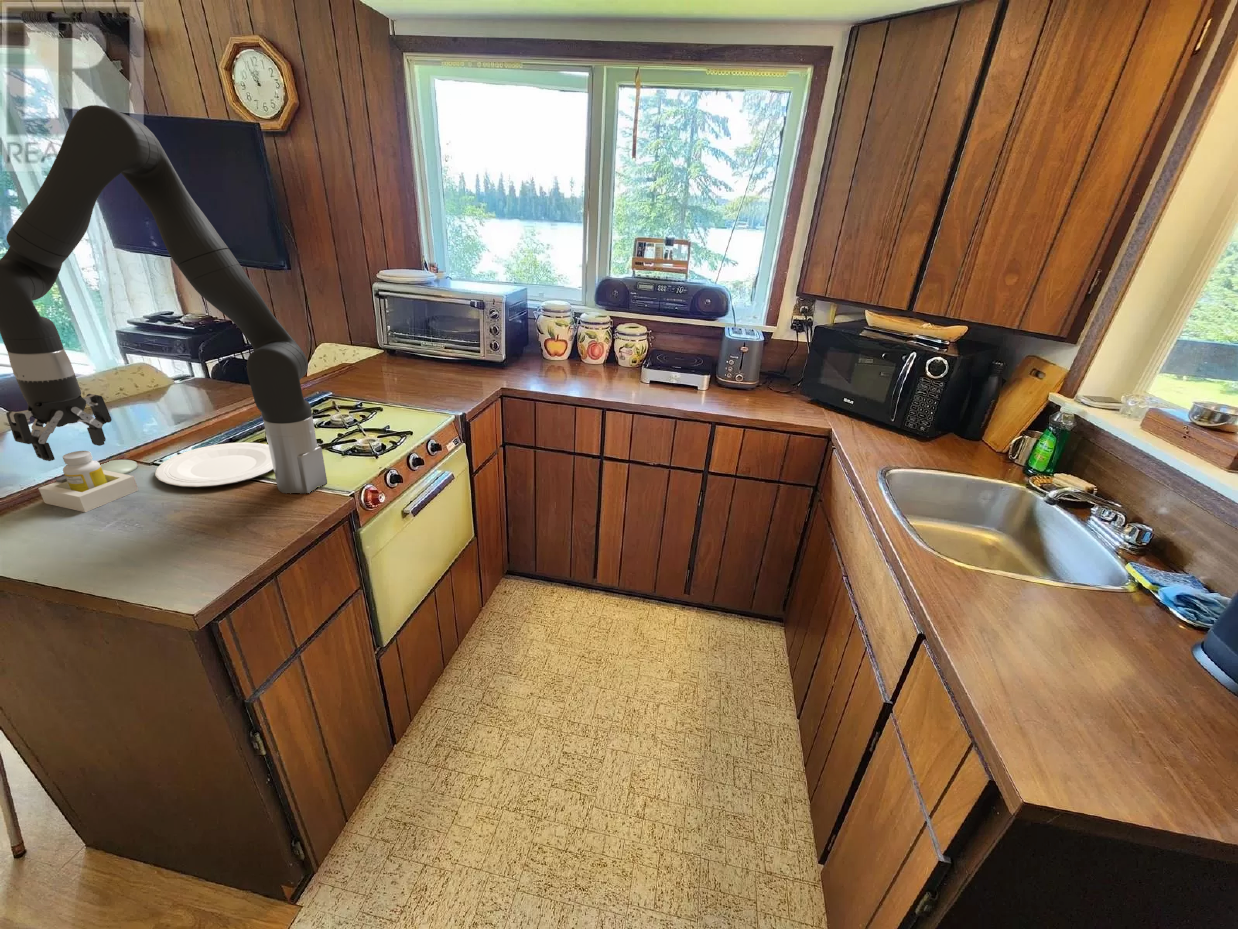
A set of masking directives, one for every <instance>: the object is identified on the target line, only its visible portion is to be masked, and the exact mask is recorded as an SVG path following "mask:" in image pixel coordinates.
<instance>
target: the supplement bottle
mask: <svg viewBox="0 0 1238 929" xmlns="http://www.w3.org/2000/svg"><path fill="white" fill-rule="evenodd" d="M93 458H94V457H93V455H92V452H91V451H90V450H75V451H72V452H68V453H65V454H64V455H63V456H62V459H63V462H64V464H65V465H64V467H63V468H62V471H63V475H64V476H65V477H66V479H67V482H68V484H69V486H70V489H71V490H73V491H78V492H84V491H87V490H89V489H92V488H95V487H97V486H100V485H103V484H105V483H107V480H106V478H105V475H104V473H103V470H102V468H101V465H100V463H101V462H99V461H97V460H94V459H93Z"/></svg>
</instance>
